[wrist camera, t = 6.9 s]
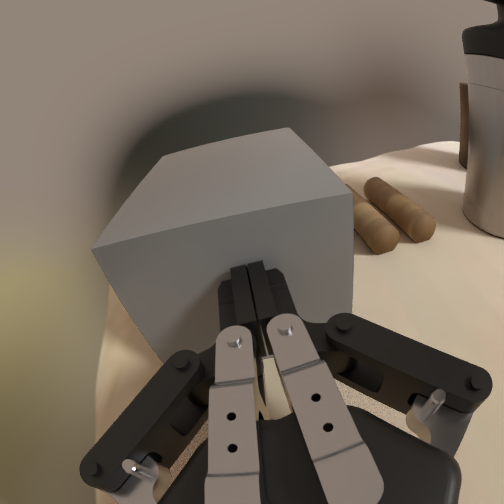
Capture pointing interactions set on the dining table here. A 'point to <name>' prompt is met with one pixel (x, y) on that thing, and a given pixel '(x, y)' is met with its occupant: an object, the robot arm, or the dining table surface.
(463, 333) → the dining table surface
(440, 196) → the dining table surface
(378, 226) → the roller
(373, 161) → the dining table surface
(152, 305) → the grey rectangular block
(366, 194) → the roller
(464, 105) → the pillar candle
